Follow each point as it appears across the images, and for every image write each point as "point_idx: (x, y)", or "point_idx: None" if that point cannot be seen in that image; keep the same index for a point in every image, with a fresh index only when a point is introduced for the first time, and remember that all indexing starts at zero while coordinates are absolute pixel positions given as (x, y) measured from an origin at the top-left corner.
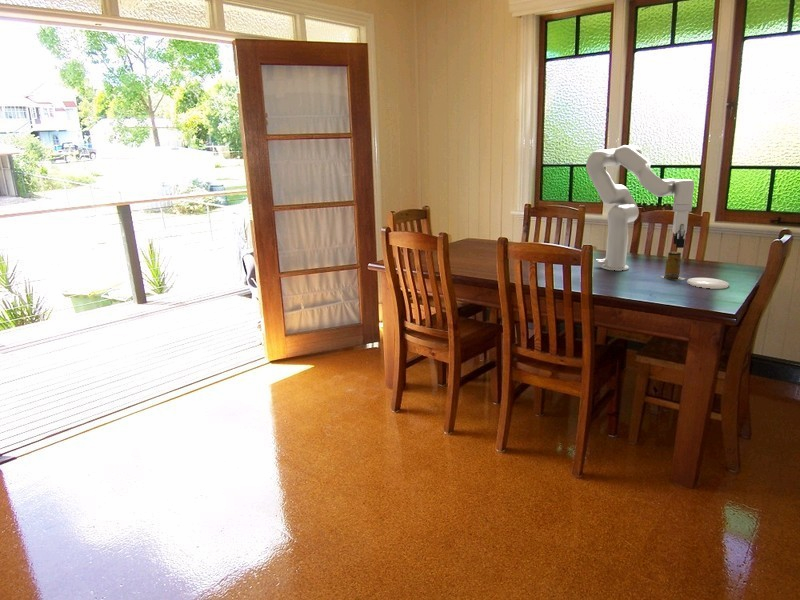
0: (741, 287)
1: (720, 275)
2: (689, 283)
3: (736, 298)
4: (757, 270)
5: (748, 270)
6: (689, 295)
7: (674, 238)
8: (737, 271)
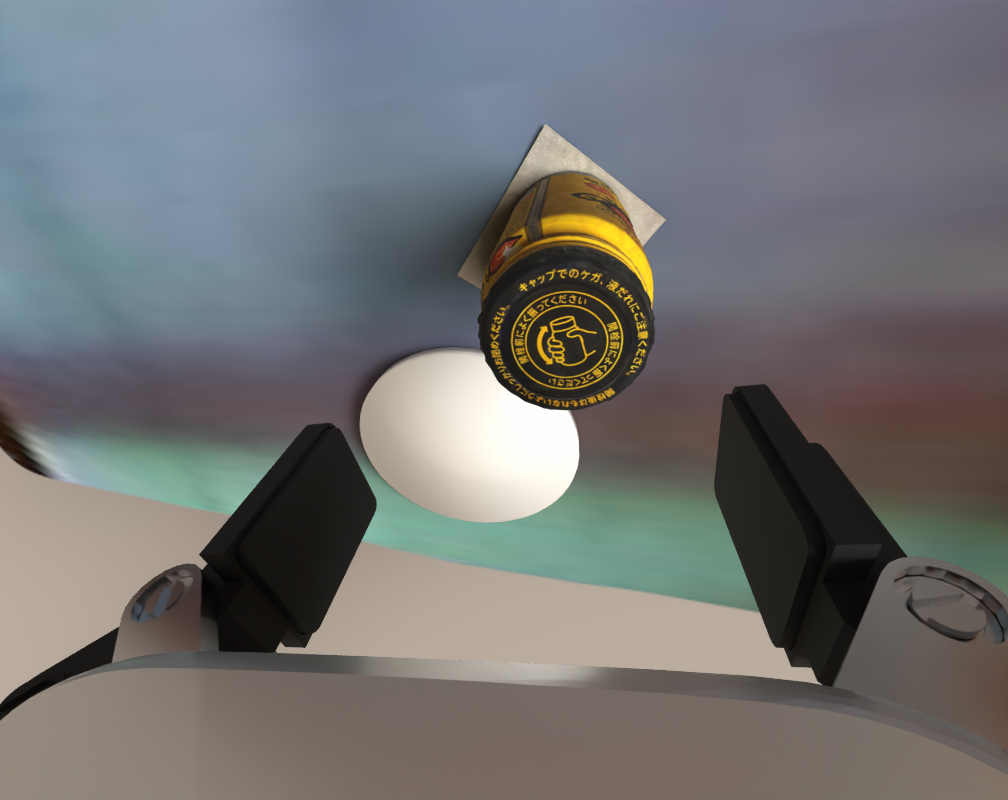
0: (483, 546)
1: None
2: (401, 362)
3: None
4: None
5: None
6: (159, 358)
7: (774, 477)
8: None
